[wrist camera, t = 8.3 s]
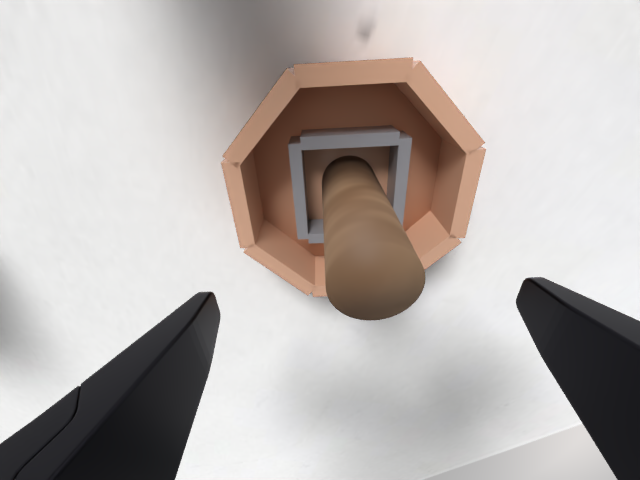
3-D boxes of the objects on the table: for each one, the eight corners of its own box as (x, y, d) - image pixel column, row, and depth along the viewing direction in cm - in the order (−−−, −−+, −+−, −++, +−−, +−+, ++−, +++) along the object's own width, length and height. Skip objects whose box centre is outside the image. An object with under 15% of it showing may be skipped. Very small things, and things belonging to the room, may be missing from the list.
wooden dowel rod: (376, 154, 16) (432, 240, 8) (373, 205, 17) (418, 318, 10) (320, 156, 16) (323, 245, 8) (322, 207, 17) (327, 322, 10)
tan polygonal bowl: (466, 54, 14) (509, 51, 11) (431, 255, 20) (452, 291, 17) (225, 68, 14) (200, 69, 11) (261, 263, 20) (251, 299, 17)
